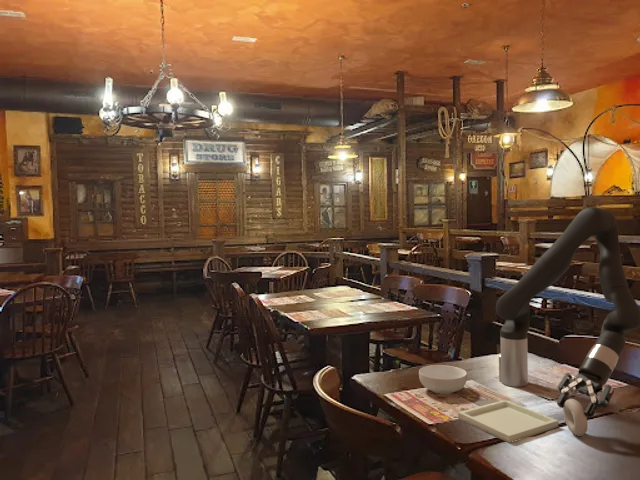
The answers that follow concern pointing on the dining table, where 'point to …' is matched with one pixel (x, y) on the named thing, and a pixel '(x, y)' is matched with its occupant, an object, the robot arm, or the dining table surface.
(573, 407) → the donut
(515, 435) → the tray
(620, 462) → the dining table surface
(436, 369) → the cereal bowl
